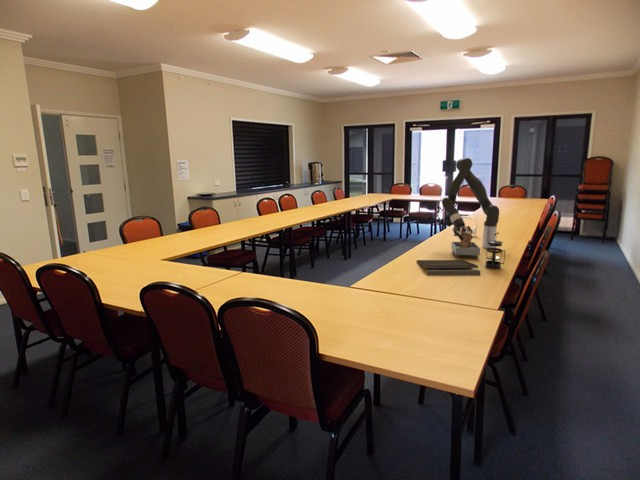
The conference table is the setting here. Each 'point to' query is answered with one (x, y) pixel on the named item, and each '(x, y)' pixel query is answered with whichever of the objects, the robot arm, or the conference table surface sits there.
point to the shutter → (449, 265)
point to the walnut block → (465, 240)
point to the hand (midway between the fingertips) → (466, 239)
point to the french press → (494, 254)
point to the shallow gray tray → (465, 250)
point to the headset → (473, 227)
